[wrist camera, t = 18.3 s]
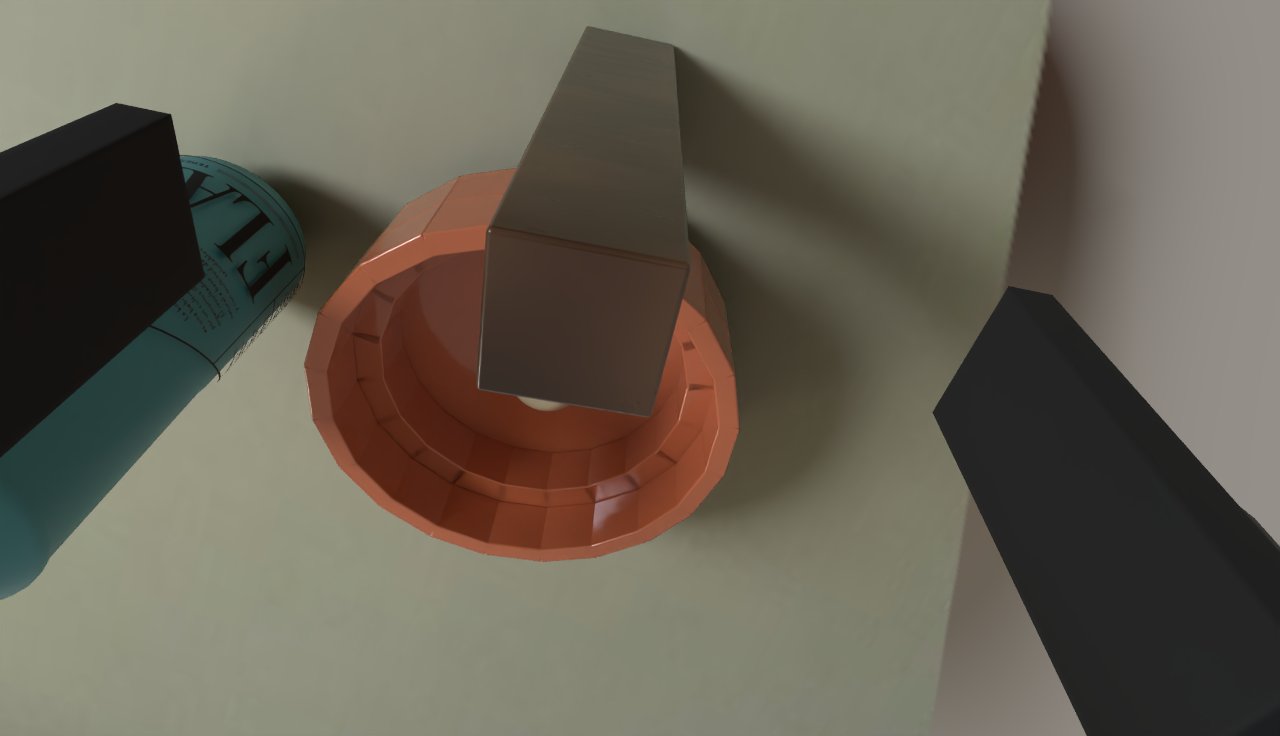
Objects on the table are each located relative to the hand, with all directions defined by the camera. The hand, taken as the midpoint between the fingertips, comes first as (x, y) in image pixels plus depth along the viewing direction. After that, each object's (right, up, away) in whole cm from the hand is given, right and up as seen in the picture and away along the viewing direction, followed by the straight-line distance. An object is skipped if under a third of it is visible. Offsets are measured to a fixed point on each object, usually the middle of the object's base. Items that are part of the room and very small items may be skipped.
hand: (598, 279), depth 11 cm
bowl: (-3, 0, +19) cm, 19 cm away
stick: (0, +9, +12) cm, 15 cm away
